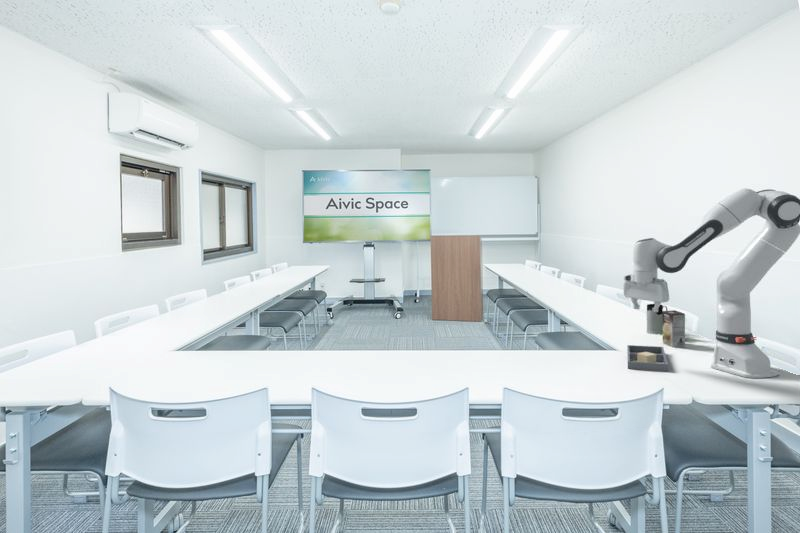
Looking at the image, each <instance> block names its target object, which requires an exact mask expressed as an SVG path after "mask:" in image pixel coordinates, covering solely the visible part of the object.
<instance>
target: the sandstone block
mask: <svg viewBox="0 0 800 533" xmlns="http://www.w3.org/2000/svg"><path fill="white" fill-rule="evenodd" d="M636 362H650V363H657V362H656V354H653V353H650V352H642V353H637V360H636Z"/></svg>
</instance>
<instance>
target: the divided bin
mask: <svg viewBox="0 0 800 533" xmlns="http://www.w3.org/2000/svg"><path fill="white" fill-rule="evenodd" d="M626 348H627V350H626V351H627V370H629V369H630V370H641V371H644V370H645V371H654V372H655V371H656V372H669V363H668V360H667V354H666V352H665V349H664V346H654V345H653V346H652V345H635V344H634V345H633V344H632V345H631V344H630V345H629V344H627V346H626ZM642 352H650V353H653V354H656V363H650V362H637V353H642Z"/></svg>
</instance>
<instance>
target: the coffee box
mask: <svg viewBox="0 0 800 533" xmlns="http://www.w3.org/2000/svg"><path fill="white" fill-rule="evenodd" d="M685 322H686V313H684V312H680V311H678V310H667V311H666V310H663V311H662V325H663V334H662V344H665V345H667V346H669V347H671V348H683V347H684V348H685V347H686V323H685Z"/></svg>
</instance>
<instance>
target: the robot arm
mask: <svg viewBox="0 0 800 533" xmlns="http://www.w3.org/2000/svg"><path fill="white" fill-rule="evenodd" d="M754 216H755V217H756V216H758V217H760V218H762V219H764V220H765V224H764V226H763V228H762V229H761V231H760V232H758V234H756V236H754V237H753V239H752V240H751V241H750V242H749V243H748V244H747V246H746V247H745V248H744V249H743V250H742V251H741V252H740V254H739V255H738V256H737V257H736V259H735V260H734V261H733V262H732V263H731V265H730V266H729V267H728V268H727V269H726V270H723V271H722V272H720V274H719V275H718V276H717V278H716V326H717V328H716V331H715V340H716V344H715V346H714V350H713V360H712V363H711V365H710V368H712V369H715V370H719V371H721V372H726V373H729V374H732V375H736V376H740V377H743V378H748V379H749V378H752V379H758V378H761V379H762V378H774V377H777V376H780V375H779V371H777V370H775V369H772V367H771V361H770V358H769V356H768V355H767V354H766V353H764V352H763V351H762V349H761V348H760V347H759V346H758V345H757V344H756V342H755V341H757V338H758V337H757V336H754V335H753V332H752V321H751V320H752V319H751V318H752V312H751V293H752V292H753V290H754V289H755V288H756V287H757V286H758V284H759V283H760V282H761V281H762V279H763V278H764V277H765V276H766V275H767V273H768V272H769V271H770V270H771V268H772V267H774V265H775V264H777V262H778V261H779V260H780V259H781V258H782V257H783V256H784V255H785V254H786V252H787V251H789V249H791V247H792V246H793V244H794V243H795V242H796V241H797V239H798V237H799V236H800V224H799V222H800V198H799V197H798V196H796V195H793V194H790V193H788V192H786V191H782V190H781V191H780V190H775V189H762V190H759V191H755V190H754V189H751V188H746V187H745V188H742V189H739V190H737V191H735V192H733V193H732V194H729V195H728V196H726V197H725V198H724V199H722V200H720V201H719V202H718V203H717V204H715V205H714V206H712V208H710V209H709V210H708V212H707V213H705V215H704V216H703V218H702V220H701V223H700V224H699V226H698V227H697V228H696V229H695V230H694V231H693V232H692V233H691V234H689V235H688V236H686V237H685V238H683V240H681V241H680V242H679V243H677V244H675V245H670V244H667V243H664V242H661V241H660V240H657V239H655V238H653V237H649V238H644V239H639V240H637V241H636V242H635V244H633V245H634V246H633V253H632V255H633V257H632V259H633V263H634V265H633V266H634V267H633V272H632V273H629V274H626V275H624V276H623V281H624V283H623V295H624V296H625V298H627V299H628V298H629V299H630V300H631V303H632V305H633V309H634V310H639V309H641V307H640V304H639V303H638V300H641V301H642V300H643V301H649V302H653V304H655V306H654V308H652V312H658V308H659V306H660V305H662V303H668V302H669V300H670V292H669V287H668V282H667V281H666V280H665V279H664V278H658V269H660V270H661V271H662V272H664V273H668V274H675V273H678V272H679V271H682V269H683V268H684V267H685V266H686V264H687V263H688V261H689V259H690V258H691V257H692V256H693V255H694V254H696V253H697V252H698V251H700V250H701V249H702V248H703V247H705V246H706V245H707V244H708V243H710V242H711V241H713V240H716V239H717V238H719V237H721V236H723V235H725V234H727V233H728V232H731V231H732V230H734V229H736V228H737V227H738V226H741V225H742V224H743V223H744V222H746V221H747V220H748V219H750V218H752V217H754Z"/></svg>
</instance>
